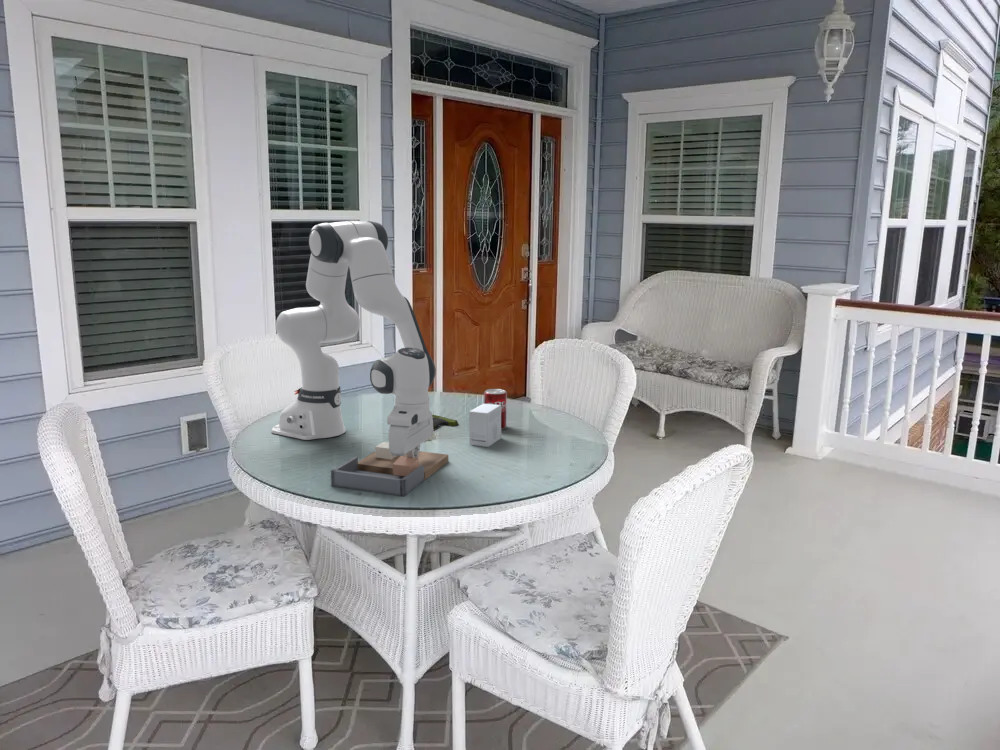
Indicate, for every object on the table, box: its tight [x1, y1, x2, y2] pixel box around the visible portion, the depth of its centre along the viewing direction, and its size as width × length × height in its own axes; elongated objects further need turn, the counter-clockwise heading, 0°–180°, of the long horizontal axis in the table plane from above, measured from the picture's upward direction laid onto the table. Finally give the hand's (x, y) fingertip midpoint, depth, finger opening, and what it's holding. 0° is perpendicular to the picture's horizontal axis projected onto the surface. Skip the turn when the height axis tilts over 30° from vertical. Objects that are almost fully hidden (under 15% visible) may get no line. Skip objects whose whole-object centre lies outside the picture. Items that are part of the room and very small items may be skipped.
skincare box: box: [468, 403, 502, 448], centre depth 233 cm, size 10×6×10 cm, turn 157°
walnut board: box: [358, 450, 449, 481], centre depth 210 cm, size 20×16×2 cm
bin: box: [330, 456, 425, 497], centre depth 196 cm, size 20×12×4 cm, turn 72°
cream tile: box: [374, 441, 397, 459], centre depth 212 cm, size 5×5×3 cm
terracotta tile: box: [393, 456, 419, 476], centre depth 200 cm, size 5×5×3 cm
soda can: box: [483, 388, 508, 431], centre depth 248 cm, size 7×7×12 cm
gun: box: [432, 414, 459, 431], centre depth 253 cm, size 2×19×15 cm
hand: (412, 462), depth 203 cm, fingers closed
